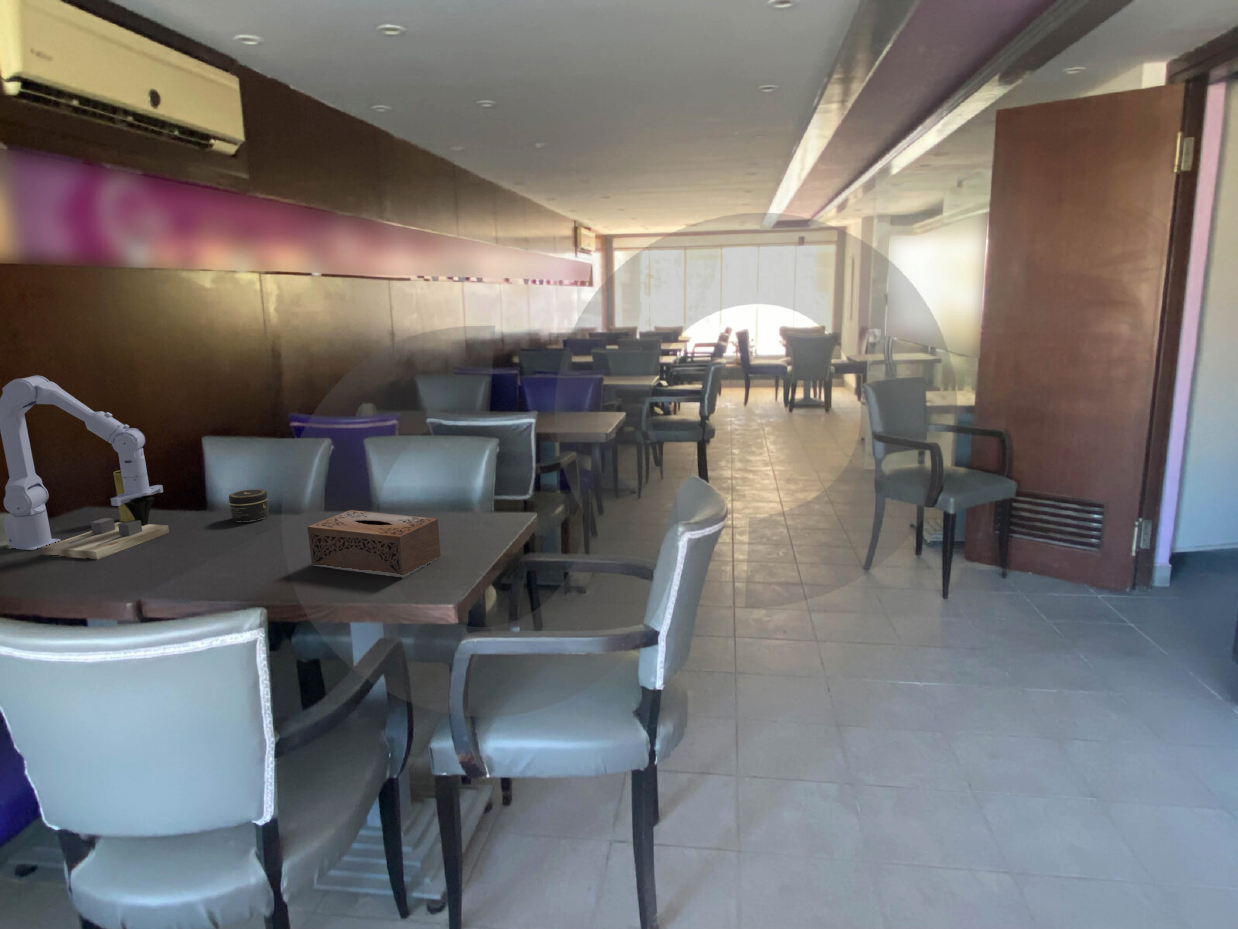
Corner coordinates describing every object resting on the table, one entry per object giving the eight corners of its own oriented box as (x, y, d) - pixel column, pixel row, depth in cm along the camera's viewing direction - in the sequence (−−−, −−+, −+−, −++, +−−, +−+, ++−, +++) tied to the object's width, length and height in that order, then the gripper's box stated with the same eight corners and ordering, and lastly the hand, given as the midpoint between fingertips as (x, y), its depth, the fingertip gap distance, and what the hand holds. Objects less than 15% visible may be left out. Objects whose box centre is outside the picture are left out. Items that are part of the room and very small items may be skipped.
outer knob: (119, 535, 204) (117, 524, 203) (132, 530, 208) (130, 519, 207) (129, 535, 203) (127, 524, 202) (142, 531, 207) (140, 520, 206)
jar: (256, 524, 218) (253, 497, 217) (223, 523, 220) (220, 497, 218) (277, 514, 228) (274, 488, 226) (245, 513, 230) (242, 488, 228)
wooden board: (43, 555, 196) (41, 547, 195) (119, 529, 217) (117, 522, 216) (97, 559, 192) (95, 551, 191) (169, 532, 212) (168, 525, 212)
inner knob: (92, 533, 206) (90, 522, 206) (105, 528, 210) (103, 518, 209) (102, 533, 205) (100, 522, 205) (115, 529, 209) (113, 518, 208)
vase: (132, 522, 223) (124, 473, 220) (114, 521, 224) (106, 473, 221) (149, 516, 229) (141, 469, 226) (131, 515, 230) (123, 468, 227)
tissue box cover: (440, 559, 187) (437, 518, 184) (403, 579, 174) (399, 536, 171) (353, 548, 196) (349, 510, 194) (312, 567, 183) (307, 526, 181)
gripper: (123, 482, 198) (131, 533, 201) (169, 469, 212) (176, 518, 214) (101, 481, 200) (109, 532, 203) (147, 468, 213) (155, 516, 216)
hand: (142, 525), depth 209 cm, fingers closed
